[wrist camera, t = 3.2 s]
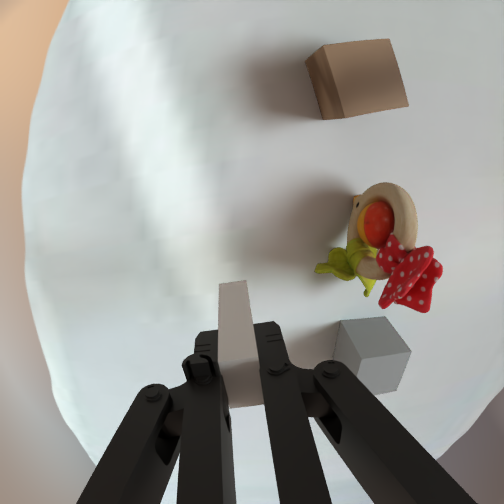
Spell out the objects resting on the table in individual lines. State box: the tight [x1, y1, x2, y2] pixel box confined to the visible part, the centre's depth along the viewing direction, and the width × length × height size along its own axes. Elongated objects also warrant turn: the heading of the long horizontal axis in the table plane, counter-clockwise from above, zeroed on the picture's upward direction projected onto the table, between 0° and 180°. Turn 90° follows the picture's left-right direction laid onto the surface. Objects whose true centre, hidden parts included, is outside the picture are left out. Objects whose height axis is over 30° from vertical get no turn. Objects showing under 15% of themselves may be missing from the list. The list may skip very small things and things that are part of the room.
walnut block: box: [305, 39, 409, 120], centre depth 19 cm, size 5×5×5 cm
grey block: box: [333, 316, 412, 395], centre depth 28 cm, size 5×5×6 cm
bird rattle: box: [315, 182, 443, 313], centre depth 21 cm, size 6×11×9 cm
